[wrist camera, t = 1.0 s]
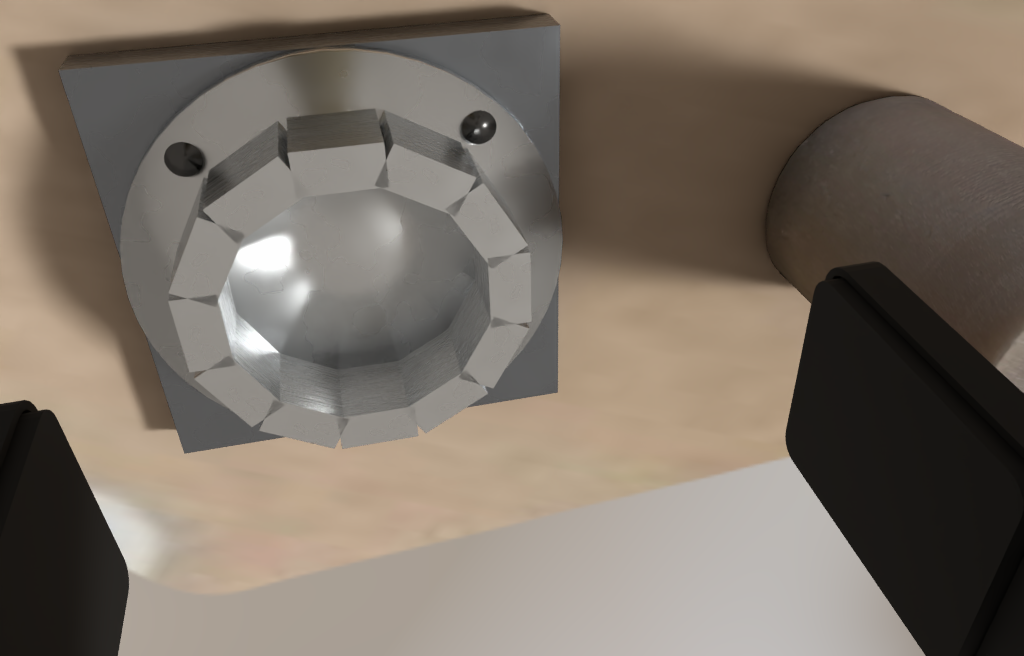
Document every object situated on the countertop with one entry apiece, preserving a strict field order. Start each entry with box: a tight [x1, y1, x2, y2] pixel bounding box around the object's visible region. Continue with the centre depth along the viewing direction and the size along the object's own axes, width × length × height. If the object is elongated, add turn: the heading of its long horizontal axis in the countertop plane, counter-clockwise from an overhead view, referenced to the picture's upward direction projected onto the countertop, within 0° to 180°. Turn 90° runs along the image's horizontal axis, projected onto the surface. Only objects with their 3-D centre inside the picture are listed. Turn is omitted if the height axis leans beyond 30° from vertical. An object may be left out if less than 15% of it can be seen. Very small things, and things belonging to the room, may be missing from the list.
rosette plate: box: [59, 14, 563, 454], centre depth 32 cm, size 16×16×5 cm
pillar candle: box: [766, 96, 1024, 393], centre depth 32 cm, size 10×10×15 cm
